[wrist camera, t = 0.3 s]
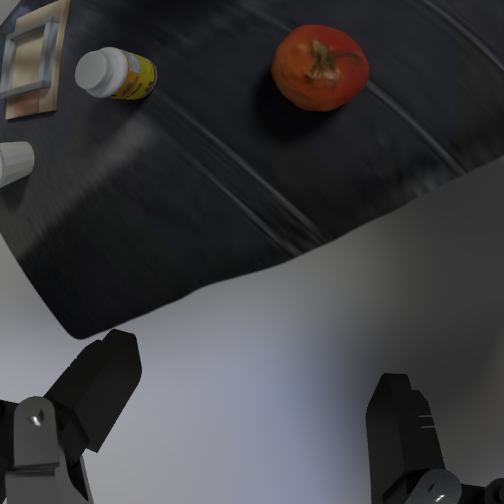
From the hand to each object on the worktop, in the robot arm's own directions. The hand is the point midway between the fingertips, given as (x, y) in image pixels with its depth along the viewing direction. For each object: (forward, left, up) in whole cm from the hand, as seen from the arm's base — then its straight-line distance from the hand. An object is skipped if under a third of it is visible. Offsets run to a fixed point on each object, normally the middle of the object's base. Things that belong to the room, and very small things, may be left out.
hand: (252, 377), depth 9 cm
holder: (-19, -40, -28) cm, 52 cm away
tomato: (-14, +1, -29) cm, 32 cm away
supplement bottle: (-13, -20, -29) cm, 37 cm away
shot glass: (-3, -42, -29) cm, 51 cm away
